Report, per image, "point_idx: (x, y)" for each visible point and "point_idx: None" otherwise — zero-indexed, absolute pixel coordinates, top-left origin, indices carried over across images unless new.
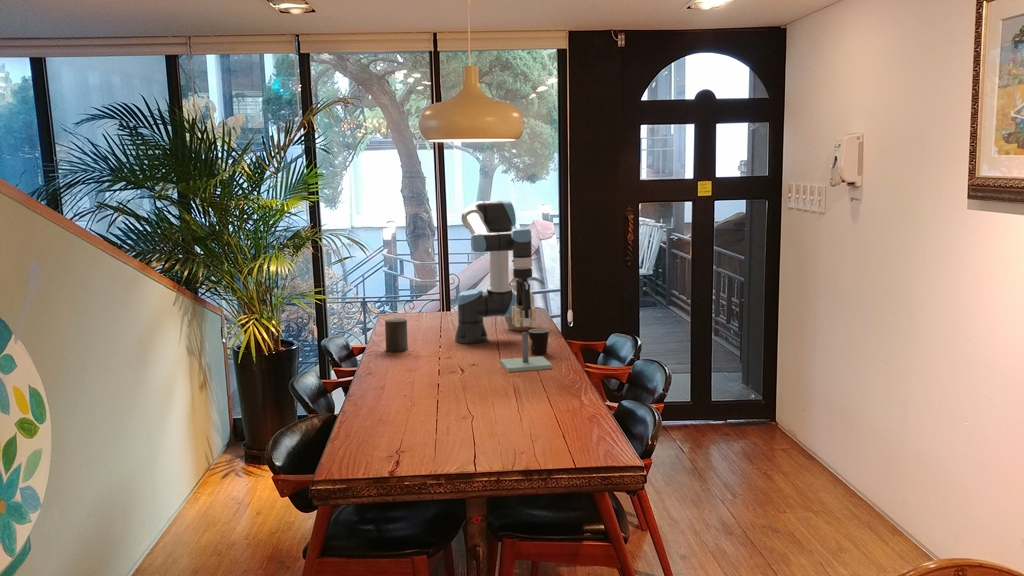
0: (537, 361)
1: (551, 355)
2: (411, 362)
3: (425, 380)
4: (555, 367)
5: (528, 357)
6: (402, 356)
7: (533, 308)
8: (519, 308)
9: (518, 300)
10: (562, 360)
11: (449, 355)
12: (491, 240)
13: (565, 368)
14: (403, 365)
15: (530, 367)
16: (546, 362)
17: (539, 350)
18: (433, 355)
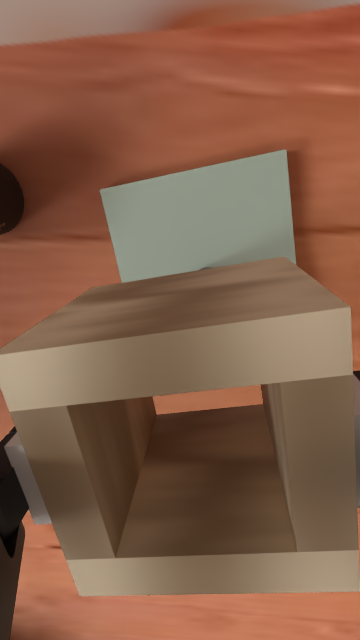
0: (206, 223)
1: (24, 135)
2: (114, 612)
3: (340, 596)
4: (267, 131)
5: (123, 261)
6: (41, 626)
7: (339, 346)
8: (111, 496)
9: (11, 616)
10: (129, 79)
11: (28, 521)
12: None
13: (300, 73)
14: (147, 630)
15: (294, 263)
16: (235, 176)
17: (12, 198)
18: (29, 560)
